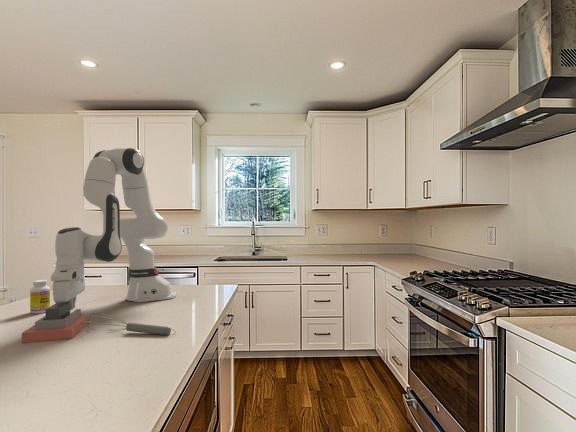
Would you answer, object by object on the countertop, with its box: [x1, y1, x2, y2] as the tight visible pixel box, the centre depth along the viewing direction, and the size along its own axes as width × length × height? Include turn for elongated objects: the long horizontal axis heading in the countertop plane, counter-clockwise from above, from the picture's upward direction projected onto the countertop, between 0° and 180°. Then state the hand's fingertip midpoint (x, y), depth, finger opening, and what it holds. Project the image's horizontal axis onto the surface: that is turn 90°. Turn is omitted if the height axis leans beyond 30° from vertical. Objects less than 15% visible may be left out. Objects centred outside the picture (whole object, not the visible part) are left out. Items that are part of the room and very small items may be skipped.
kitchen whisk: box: [81, 312, 176, 336], centre depth 115 cm, size 6×34×6 cm, turn 80°
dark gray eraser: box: [45, 302, 71, 320], centre depth 116 cm, size 4×9×6 cm, turn 13°
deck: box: [21, 308, 90, 344], centre depth 116 cm, size 14×16×6 cm
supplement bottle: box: [29, 279, 51, 315], centre depth 142 cm, size 7×7×13 cm
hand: (71, 309), depth 127 cm, fingers closed
